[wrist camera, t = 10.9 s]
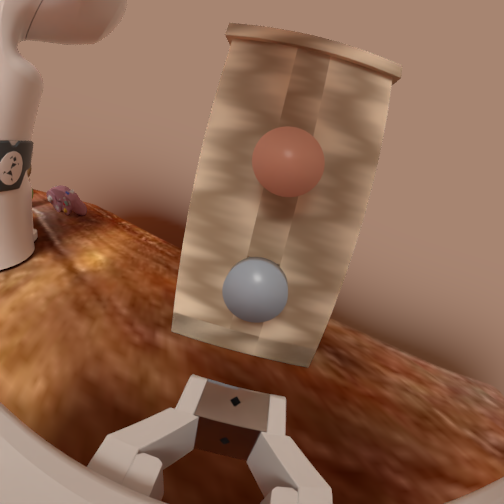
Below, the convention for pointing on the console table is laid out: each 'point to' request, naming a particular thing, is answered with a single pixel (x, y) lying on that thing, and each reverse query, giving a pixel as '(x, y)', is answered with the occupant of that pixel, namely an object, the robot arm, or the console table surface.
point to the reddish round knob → (288, 161)
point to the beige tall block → (273, 206)
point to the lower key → (255, 289)
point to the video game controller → (66, 200)
